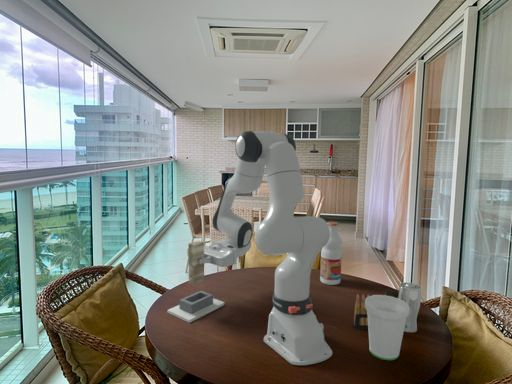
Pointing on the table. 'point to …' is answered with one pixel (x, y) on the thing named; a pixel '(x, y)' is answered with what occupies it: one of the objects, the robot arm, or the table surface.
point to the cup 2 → (386, 325)
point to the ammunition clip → (360, 313)
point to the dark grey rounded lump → (392, 293)
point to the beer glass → (410, 303)
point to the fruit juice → (331, 257)
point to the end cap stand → (195, 306)
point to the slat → (195, 268)
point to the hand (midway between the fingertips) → (194, 260)
